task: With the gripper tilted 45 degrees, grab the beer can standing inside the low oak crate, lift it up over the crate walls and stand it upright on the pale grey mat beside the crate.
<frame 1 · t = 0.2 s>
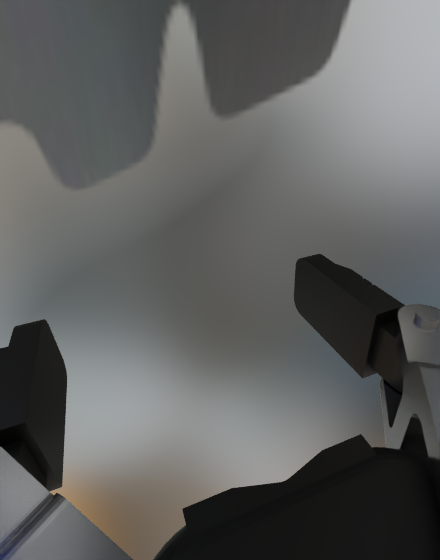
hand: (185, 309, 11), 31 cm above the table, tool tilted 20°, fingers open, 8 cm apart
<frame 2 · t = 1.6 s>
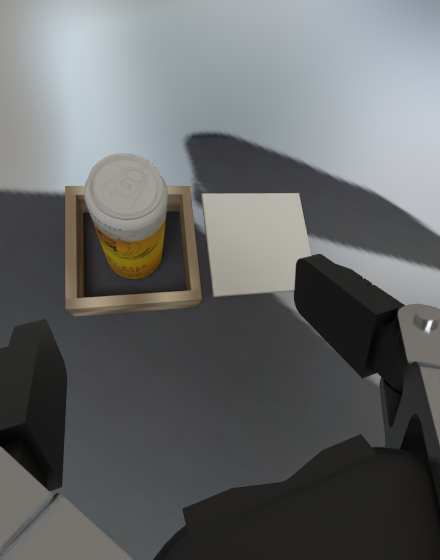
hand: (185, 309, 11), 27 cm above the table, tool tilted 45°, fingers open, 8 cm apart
beer can: (135, 256, 39), resting in crate
crate: (134, 255, 38), on the table
mat: (258, 242, 42), on the table
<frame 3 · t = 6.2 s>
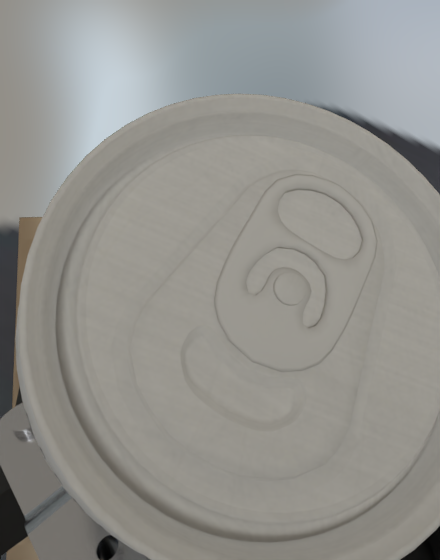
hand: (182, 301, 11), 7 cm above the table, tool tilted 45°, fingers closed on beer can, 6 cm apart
beer can: (178, 361, 18), resting in crate, touching gripper
crate: (179, 361, 18), on the table
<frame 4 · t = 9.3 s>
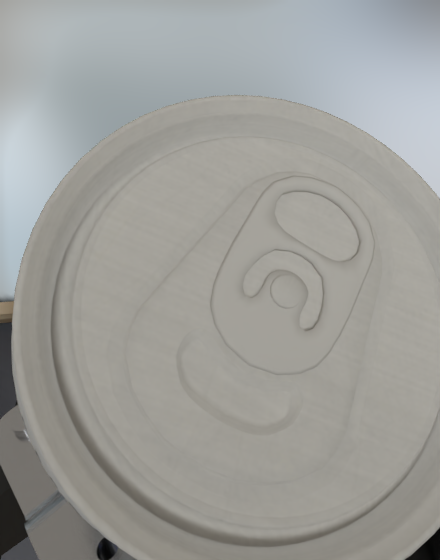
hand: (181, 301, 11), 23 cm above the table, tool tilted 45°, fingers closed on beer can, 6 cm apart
beer can: (178, 362, 18), point 15 cm above the table, touching gripper
when the fingers open (9 cm above the table, at t = 12.7 s): beer can drops 1 cm, resting on mat.
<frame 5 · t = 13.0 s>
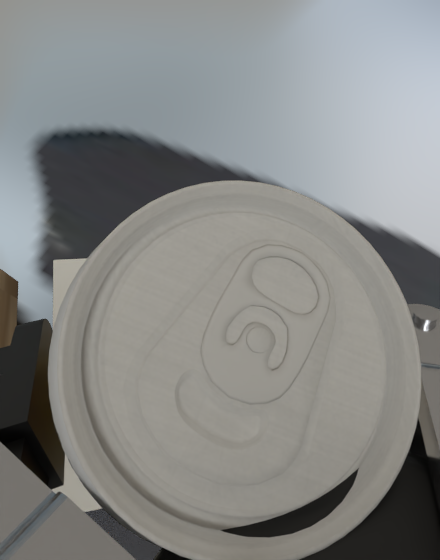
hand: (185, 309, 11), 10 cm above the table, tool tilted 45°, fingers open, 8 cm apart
beer can: (177, 367, 19), resting on mat
mat: (175, 363, 20), on the table
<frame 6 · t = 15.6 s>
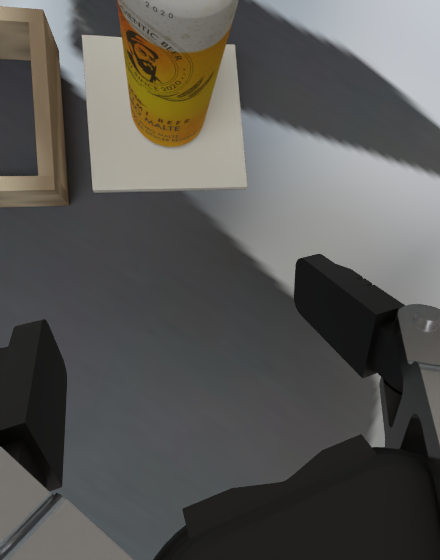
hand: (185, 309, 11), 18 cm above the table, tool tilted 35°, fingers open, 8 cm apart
beer can: (168, 117, 29), resting on mat
mat: (167, 117, 29), on the table
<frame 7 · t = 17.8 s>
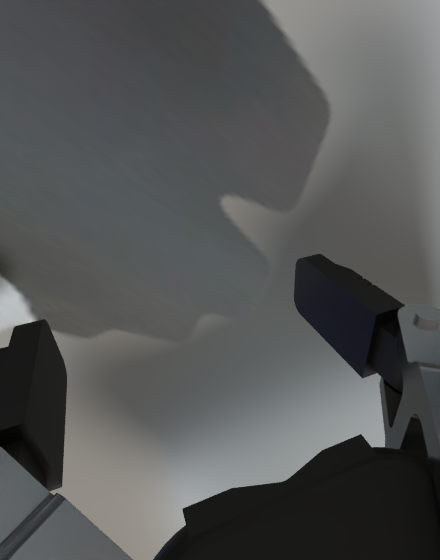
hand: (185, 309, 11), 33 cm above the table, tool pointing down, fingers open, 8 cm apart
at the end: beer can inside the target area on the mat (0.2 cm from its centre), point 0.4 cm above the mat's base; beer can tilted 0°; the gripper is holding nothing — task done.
